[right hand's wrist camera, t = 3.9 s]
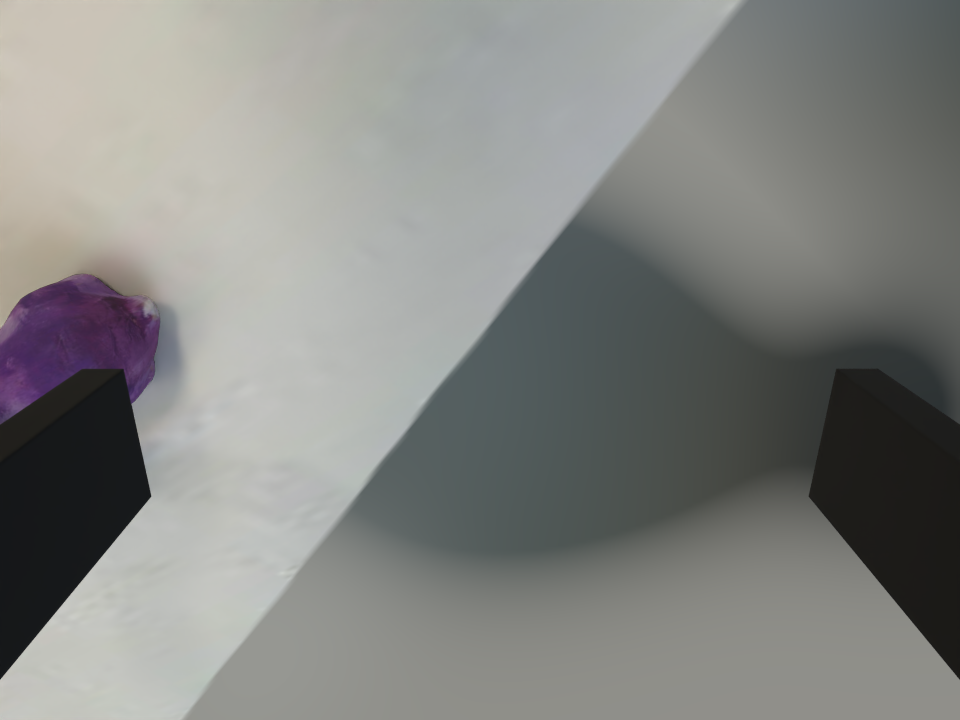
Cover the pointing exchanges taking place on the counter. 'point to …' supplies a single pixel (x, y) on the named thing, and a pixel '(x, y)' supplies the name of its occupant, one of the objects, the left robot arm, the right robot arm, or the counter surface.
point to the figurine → (74, 339)
